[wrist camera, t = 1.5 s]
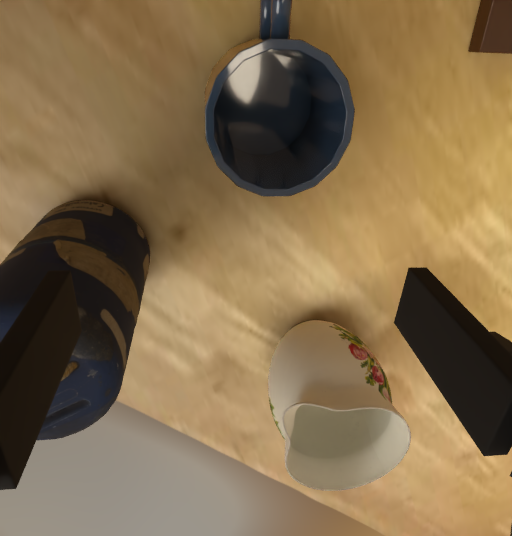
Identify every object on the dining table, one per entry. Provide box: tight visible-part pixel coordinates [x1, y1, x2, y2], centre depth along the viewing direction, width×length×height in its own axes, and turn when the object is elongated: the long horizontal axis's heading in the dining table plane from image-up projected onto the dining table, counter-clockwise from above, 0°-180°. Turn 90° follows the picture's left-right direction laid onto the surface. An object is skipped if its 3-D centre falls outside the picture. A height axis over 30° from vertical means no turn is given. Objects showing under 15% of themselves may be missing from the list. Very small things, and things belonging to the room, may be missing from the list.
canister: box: [0, 200, 150, 440], centre depth 28 cm, size 10×10×18 cm
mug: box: [205, 0, 355, 196], centre depth 27 cm, size 13×9×10 cm, turn 178°
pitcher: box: [268, 320, 411, 491], centre depth 39 cm, size 11×18×14 cm, turn 40°
